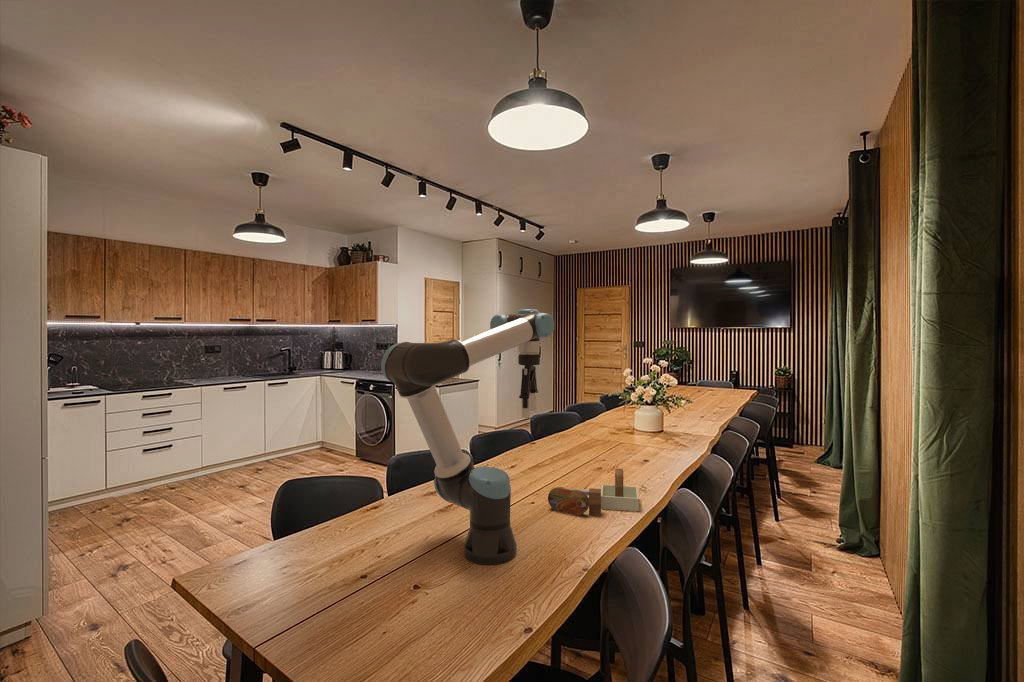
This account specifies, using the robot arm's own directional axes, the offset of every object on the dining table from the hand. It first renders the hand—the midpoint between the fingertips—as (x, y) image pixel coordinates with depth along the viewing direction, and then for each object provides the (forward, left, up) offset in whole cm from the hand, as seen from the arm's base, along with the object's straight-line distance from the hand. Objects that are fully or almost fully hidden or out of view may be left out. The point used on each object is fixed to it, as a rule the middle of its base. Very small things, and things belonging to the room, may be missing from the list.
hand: (529, 414), depth 167 cm
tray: (+15, -31, -35) cm, 49 cm away
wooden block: (+4, -23, -35) cm, 42 cm away
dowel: (+15, -31, -34) cm, 48 cm away
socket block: (+15, -18, -35) cm, 42 cm away
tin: (+3, -13, -35) cm, 38 cm away
